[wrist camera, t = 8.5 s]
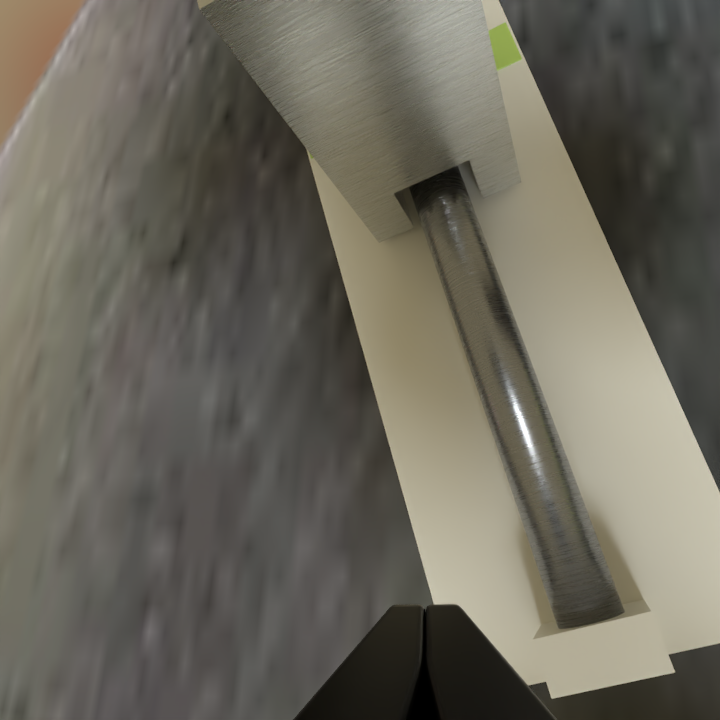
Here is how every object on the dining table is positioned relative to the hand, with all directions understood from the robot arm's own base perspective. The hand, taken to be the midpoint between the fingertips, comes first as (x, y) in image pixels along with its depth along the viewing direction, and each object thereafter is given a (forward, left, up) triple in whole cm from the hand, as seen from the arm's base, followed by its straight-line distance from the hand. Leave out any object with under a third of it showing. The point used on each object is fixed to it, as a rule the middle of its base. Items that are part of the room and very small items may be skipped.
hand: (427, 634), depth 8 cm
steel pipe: (+6, -8, -12) cm, 16 cm away
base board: (+6, -8, -13) cm, 17 cm away
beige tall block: (+9, -11, -13) cm, 20 cm away
